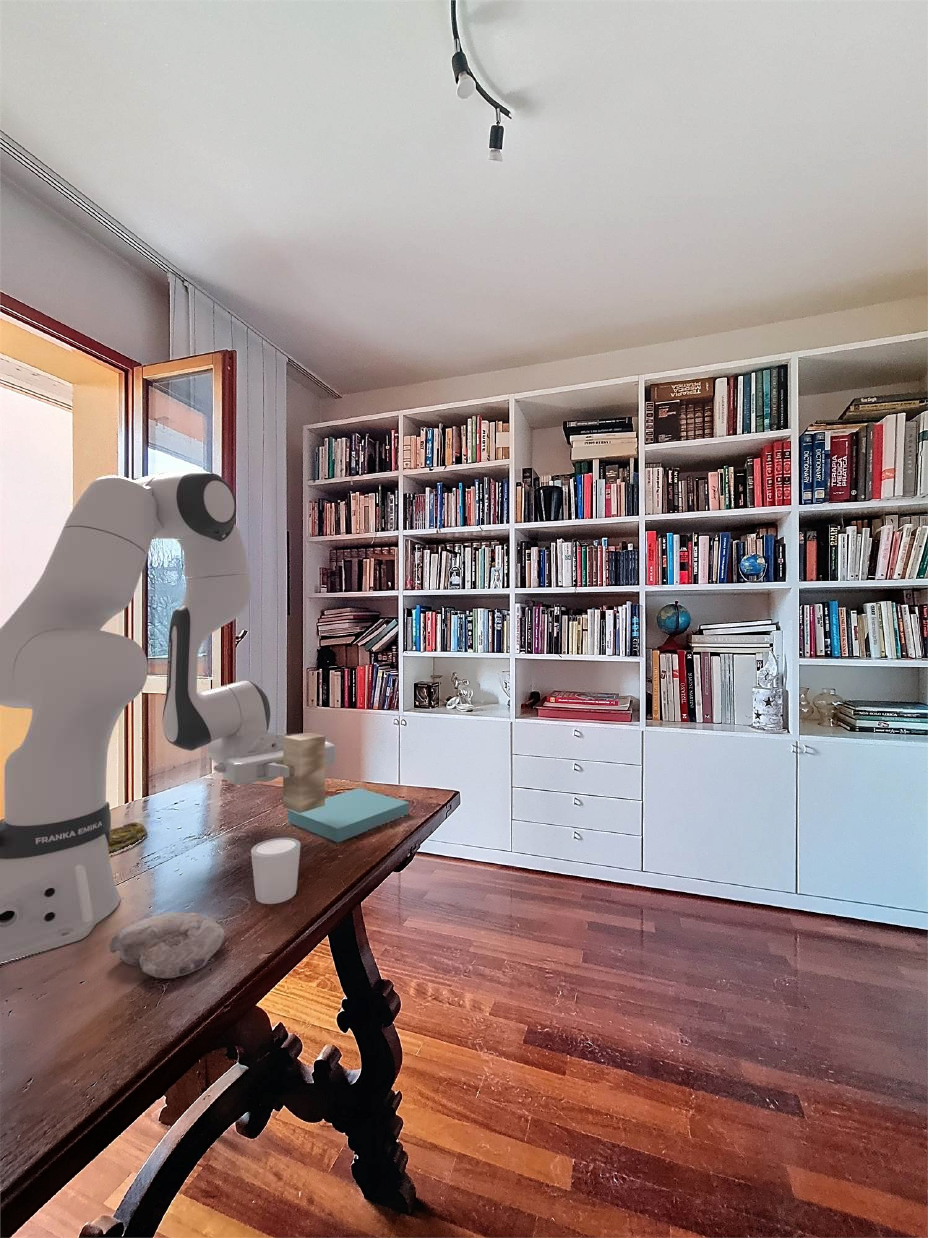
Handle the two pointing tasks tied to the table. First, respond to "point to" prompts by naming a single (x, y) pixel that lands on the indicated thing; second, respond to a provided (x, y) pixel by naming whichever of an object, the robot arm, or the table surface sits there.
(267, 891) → the shot glass
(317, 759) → the birch block
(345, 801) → the teal board
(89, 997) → the table surface
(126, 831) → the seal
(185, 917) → the fossil
